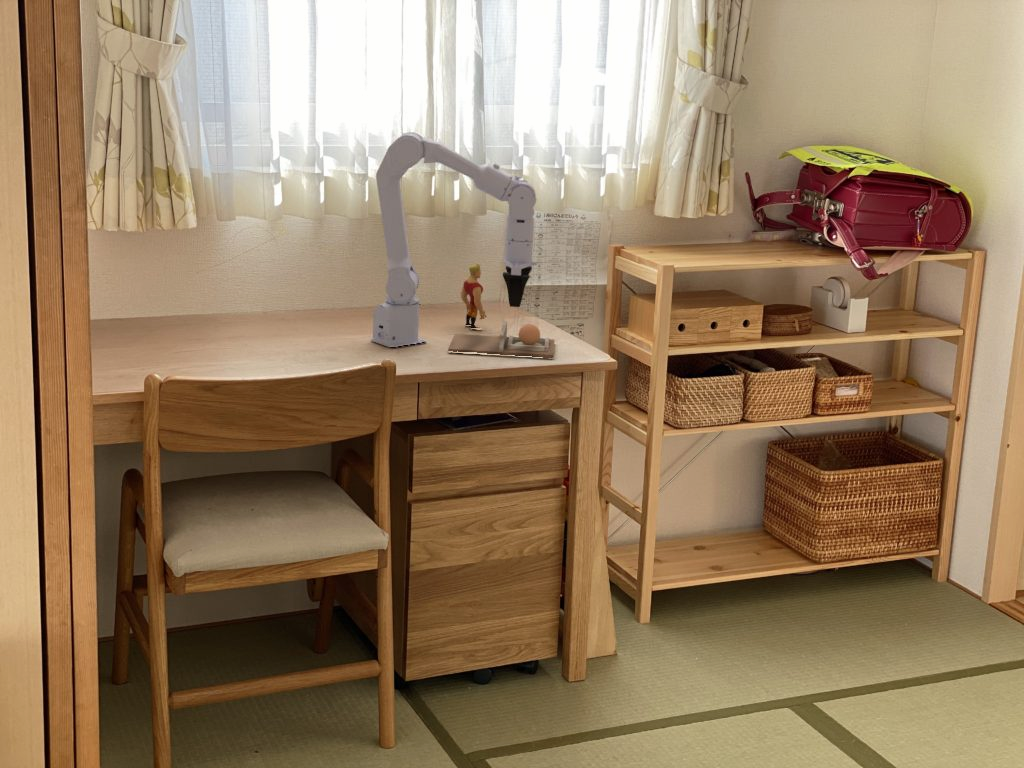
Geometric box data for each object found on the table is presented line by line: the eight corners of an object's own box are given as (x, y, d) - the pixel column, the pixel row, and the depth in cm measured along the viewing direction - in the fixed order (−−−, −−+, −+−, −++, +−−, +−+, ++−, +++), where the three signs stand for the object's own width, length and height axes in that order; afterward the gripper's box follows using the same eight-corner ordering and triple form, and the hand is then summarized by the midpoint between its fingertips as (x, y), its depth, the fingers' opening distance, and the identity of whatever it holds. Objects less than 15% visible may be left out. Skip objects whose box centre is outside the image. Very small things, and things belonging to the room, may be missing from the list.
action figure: (488, 332, 271) (491, 267, 267) (474, 333, 269) (476, 267, 265) (472, 323, 279) (474, 259, 275) (458, 324, 278) (460, 260, 274)
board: (448, 353, 251) (448, 332, 249) (454, 338, 264) (455, 318, 263) (553, 359, 250) (554, 338, 249) (554, 343, 263) (555, 323, 262)
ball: (528, 349, 253) (529, 327, 252) (513, 344, 257) (514, 323, 255) (543, 346, 256) (545, 325, 255) (529, 341, 260) (530, 320, 258)
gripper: (537, 246, 245) (533, 311, 249) (539, 235, 259) (535, 297, 263) (502, 243, 246) (499, 308, 249) (507, 233, 260) (503, 295, 263)
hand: (515, 302), depth 256 cm, fingers open, 7 cm apart
